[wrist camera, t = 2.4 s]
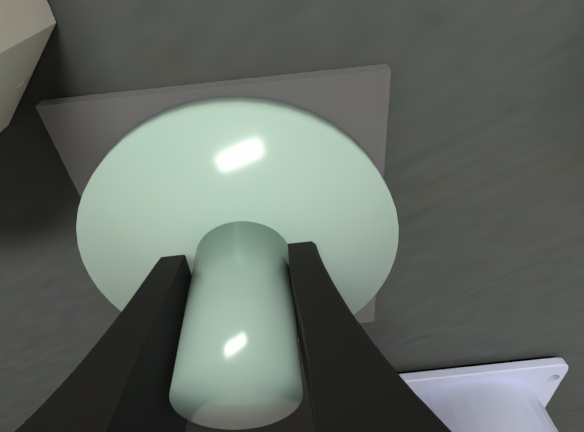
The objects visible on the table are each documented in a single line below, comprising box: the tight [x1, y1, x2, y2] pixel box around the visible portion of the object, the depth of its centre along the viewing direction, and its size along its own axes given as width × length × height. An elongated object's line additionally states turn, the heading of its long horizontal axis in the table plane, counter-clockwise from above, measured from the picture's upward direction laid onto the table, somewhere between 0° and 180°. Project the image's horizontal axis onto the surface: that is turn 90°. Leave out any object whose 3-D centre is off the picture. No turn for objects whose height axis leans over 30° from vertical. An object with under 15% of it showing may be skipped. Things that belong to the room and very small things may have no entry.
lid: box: [76, 96, 399, 430], centre depth 10 cm, size 9×9×5 cm
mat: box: [35, 64, 391, 323], centre depth 12 cm, size 9×8×1 cm
